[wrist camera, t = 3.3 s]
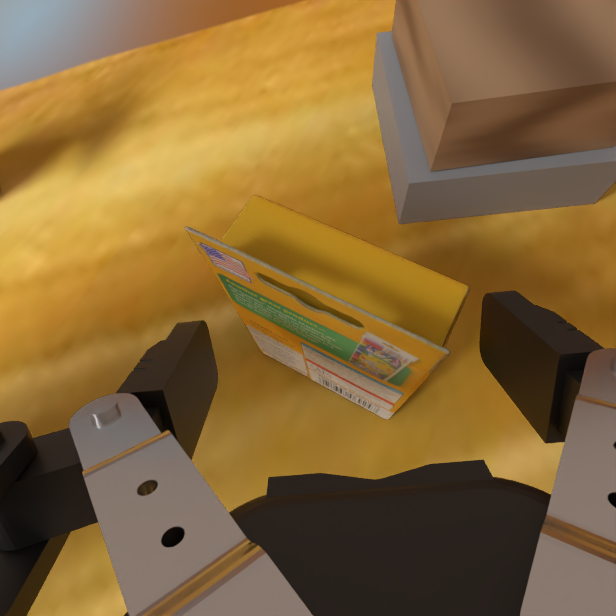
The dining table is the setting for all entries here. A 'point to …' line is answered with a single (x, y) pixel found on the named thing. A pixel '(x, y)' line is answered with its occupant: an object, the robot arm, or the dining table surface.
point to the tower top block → (508, 77)
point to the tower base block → (473, 179)
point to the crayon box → (334, 303)
